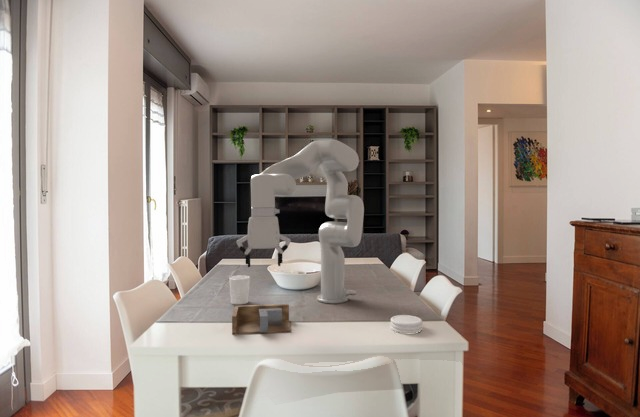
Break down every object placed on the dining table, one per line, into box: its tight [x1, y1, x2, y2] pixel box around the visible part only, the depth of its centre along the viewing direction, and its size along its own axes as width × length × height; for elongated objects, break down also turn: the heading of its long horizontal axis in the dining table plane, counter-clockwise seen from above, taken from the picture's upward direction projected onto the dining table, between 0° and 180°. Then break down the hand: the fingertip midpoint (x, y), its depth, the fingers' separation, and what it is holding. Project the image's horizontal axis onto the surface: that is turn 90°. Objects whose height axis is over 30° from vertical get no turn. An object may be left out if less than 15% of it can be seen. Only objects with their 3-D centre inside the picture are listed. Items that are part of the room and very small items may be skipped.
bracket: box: [259, 308, 282, 332], centre depth 135 cm, size 8×7×5 cm
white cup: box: [228, 274, 251, 306], centre depth 167 cm, size 8×8×10 cm
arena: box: [231, 303, 292, 335], centre depth 138 cm, size 18×12×6 cm, turn 97°
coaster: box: [390, 314, 423, 334], centre depth 137 cm, size 10×10×4 cm
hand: (264, 265), depth 137 cm, fingers open, 9 cm apart
